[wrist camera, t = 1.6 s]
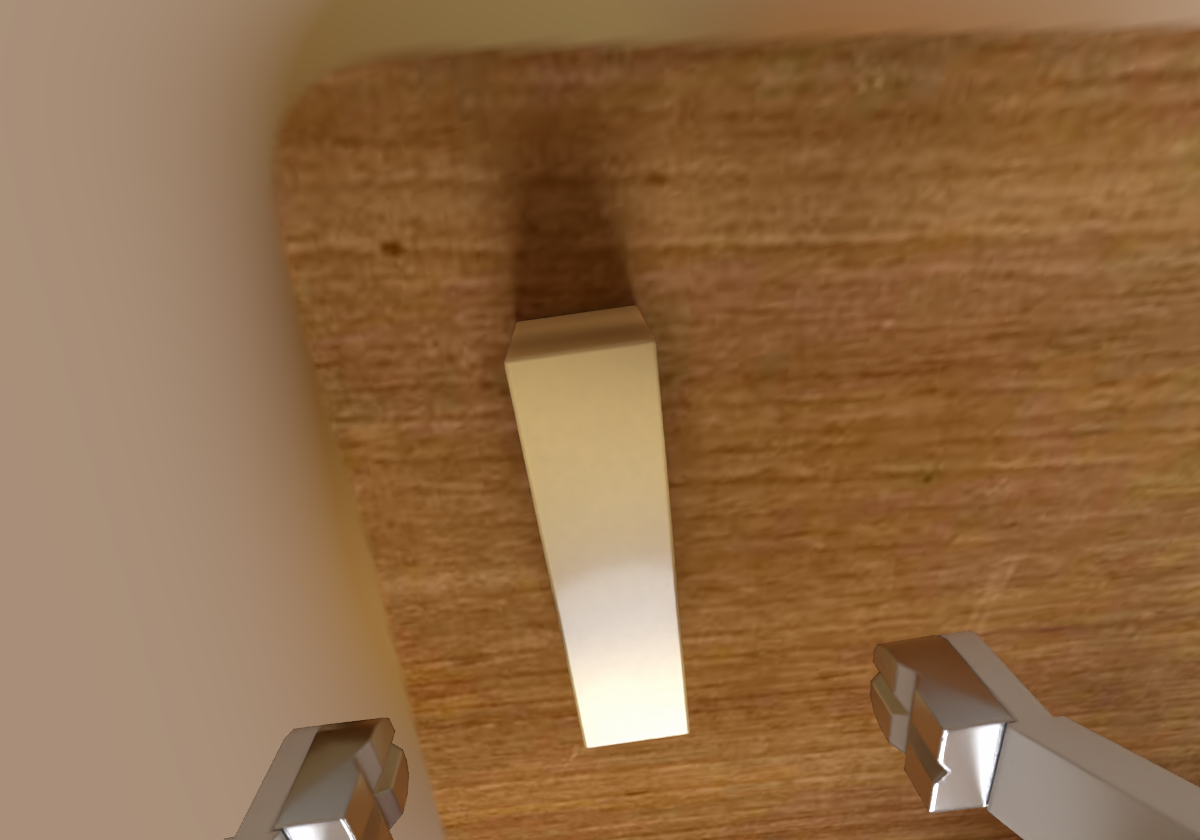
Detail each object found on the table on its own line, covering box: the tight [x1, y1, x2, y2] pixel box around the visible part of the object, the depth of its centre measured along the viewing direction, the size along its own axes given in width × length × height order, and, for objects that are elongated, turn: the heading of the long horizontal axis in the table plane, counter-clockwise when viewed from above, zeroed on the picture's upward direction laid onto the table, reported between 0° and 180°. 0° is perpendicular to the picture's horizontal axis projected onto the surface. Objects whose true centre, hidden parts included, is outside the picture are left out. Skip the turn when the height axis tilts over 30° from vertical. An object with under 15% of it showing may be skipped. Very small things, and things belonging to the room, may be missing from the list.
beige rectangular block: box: [504, 305, 690, 748], centre depth 12 cm, size 10×3×3 cm, turn 7°
